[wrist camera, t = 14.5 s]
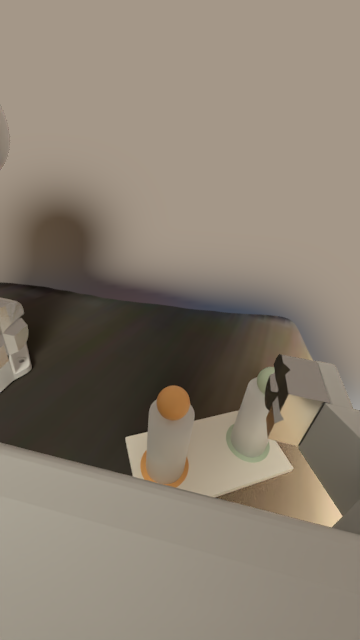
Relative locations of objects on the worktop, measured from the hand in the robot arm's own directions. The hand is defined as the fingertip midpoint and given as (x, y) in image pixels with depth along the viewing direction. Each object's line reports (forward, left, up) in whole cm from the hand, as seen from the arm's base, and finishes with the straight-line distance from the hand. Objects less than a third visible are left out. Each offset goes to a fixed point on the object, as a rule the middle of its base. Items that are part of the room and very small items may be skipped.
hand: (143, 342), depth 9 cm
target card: (-11, +12, -30) cm, 34 cm away
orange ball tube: (-11, +6, -29) cm, 31 cm away
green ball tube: (-11, +18, -29) cm, 36 cm away
